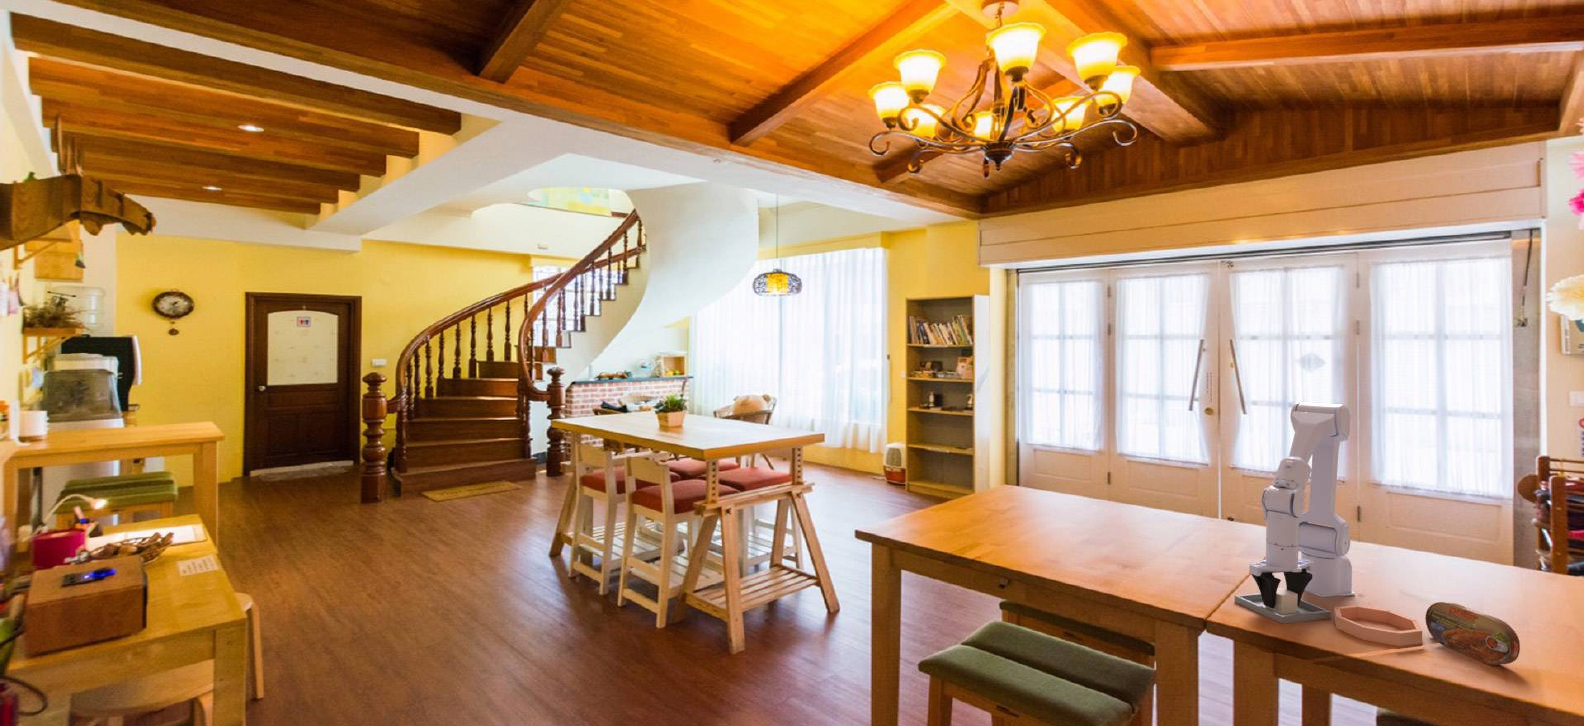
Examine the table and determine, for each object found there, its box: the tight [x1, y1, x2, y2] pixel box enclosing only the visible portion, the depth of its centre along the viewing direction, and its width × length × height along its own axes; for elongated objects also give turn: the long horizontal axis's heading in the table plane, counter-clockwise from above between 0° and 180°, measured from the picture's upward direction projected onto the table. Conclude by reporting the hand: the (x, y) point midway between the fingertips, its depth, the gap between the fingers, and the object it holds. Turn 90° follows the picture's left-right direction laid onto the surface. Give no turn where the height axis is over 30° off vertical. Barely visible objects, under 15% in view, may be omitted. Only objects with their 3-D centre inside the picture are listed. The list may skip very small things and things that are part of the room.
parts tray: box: [1234, 592, 1332, 625], centre depth 151 cm, size 12×12×2 cm
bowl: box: [1333, 604, 1423, 650], centre depth 140 cm, size 13×13×3 cm
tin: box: [1425, 601, 1521, 666], centre depth 131 cm, size 15×3×8 cm, turn 5°
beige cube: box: [1265, 586, 1298, 614], centre depth 151 cm, size 4×4×4 cm
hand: (1281, 605), depth 151 cm, fingers open, 6 cm apart
